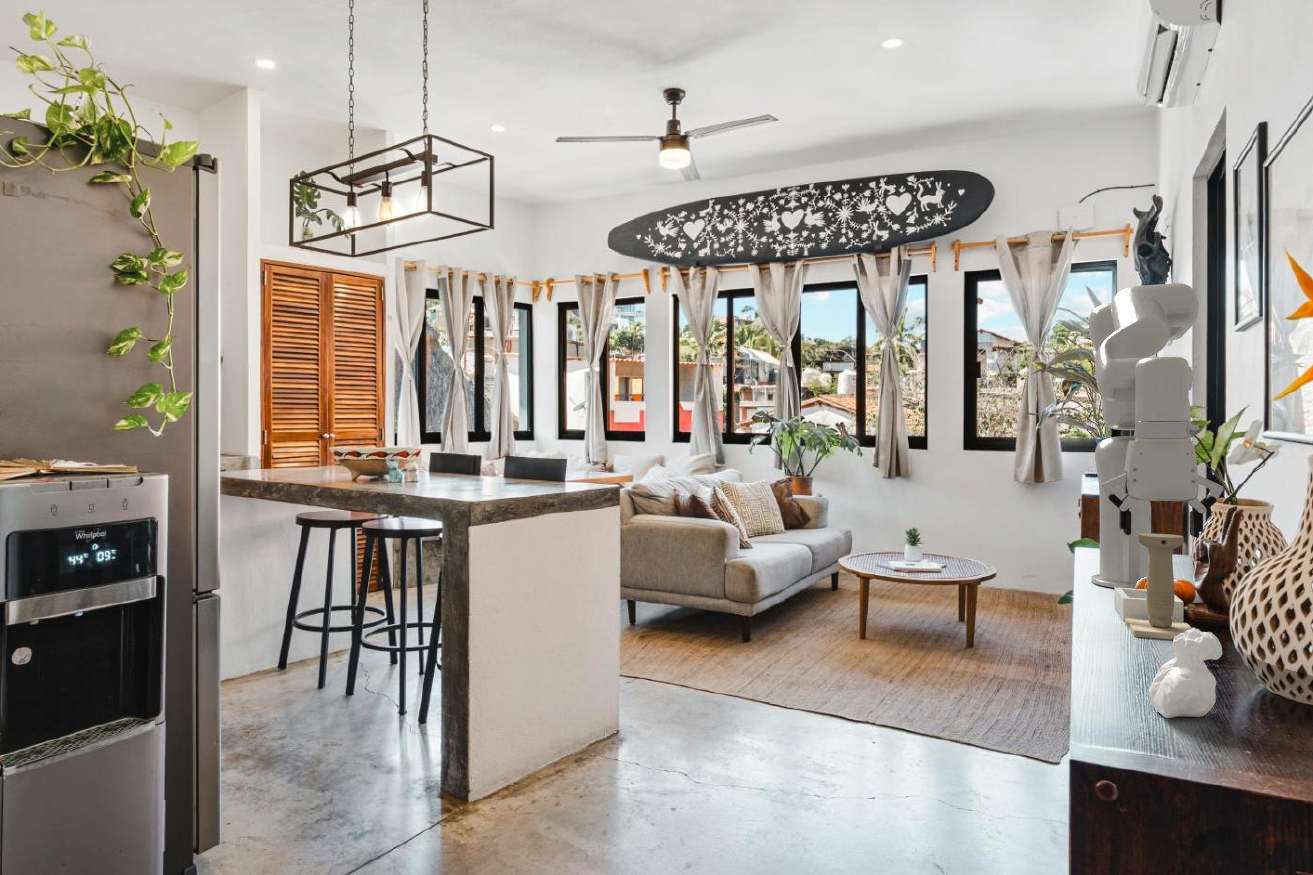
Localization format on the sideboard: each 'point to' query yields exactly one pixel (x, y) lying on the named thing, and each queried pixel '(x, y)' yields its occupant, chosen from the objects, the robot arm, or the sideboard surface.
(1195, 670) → the white tied sack
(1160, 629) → the oak board
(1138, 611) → the white open box
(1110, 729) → the sideboard surface
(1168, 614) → the handle
